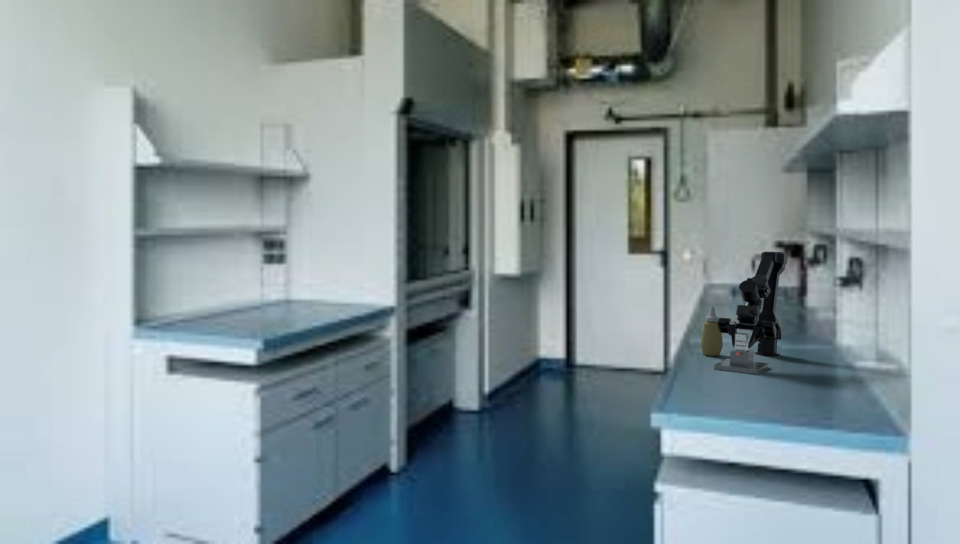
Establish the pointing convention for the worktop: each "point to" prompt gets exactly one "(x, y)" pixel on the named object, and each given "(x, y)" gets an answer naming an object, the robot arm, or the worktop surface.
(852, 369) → the worktop surface
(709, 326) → the squeeze bottle
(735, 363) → the stand
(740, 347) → the block
